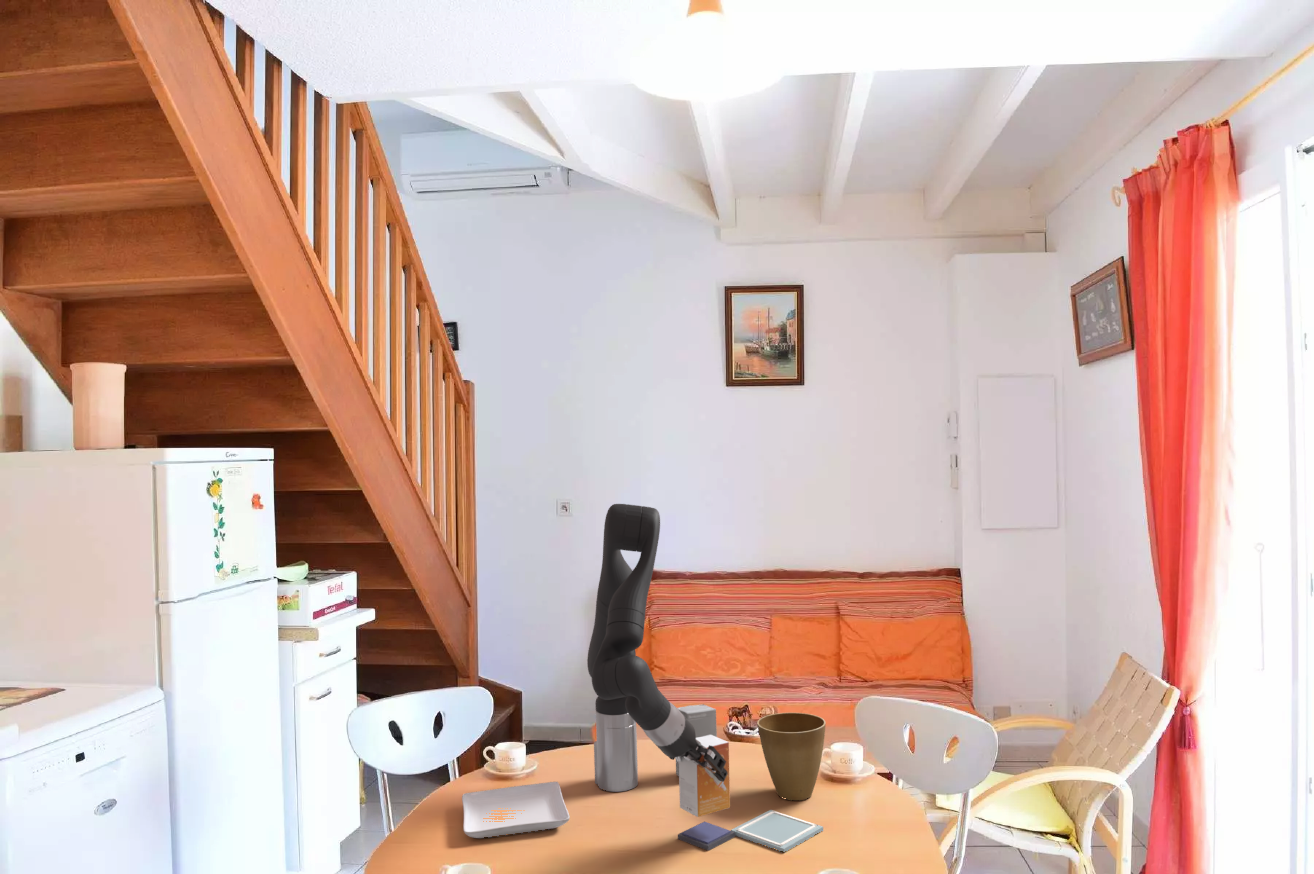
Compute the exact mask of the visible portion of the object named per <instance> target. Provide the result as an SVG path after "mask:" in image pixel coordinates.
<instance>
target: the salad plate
mask: <svg viewBox="0 0 1314 874" xmlns="http://www.w3.org/2000/svg"><path fill="white" fill-rule="evenodd" d="M461 801H462V809H463V826H462V828H463V832H464V834H465V835H466V836H468V837H470V838H473V839H485V838H484V837H488V838H493V837H492V836H497V837H500V836H499V835H505V836H507V835H506V834H513V835H516V834H515V833H521V834H524V833H523V832H528V833H532V832H531V831H535V832H539V831H538V830H542V831H546V830H545V829H548V830H550V829H551V830H552V829H556V828H559V827H562V826H564V825H566V823H568V822H569V821H570V819H571V818H570V813H569V810H568V808H567V806H566V803H565V801H564V797H563V793H562V788H561V786H560V783H559V782H558V781H549V782H539V783H533V784H522V785H514V786H508V787H500V788H492V789H487V790H480V791H472V792H465V793H463V794H462V796H461ZM498 808H501V809H498ZM502 808H503V809H502ZM505 808H506V809H505ZM507 808H508V809H507ZM510 808H511V809H510ZM491 810H516V811H513V812H512V811H509V812H508V811H507V812H502V813H516V814H508V815H502V816H508V817H503V818H514V819H505V820H498V819H497V820H494V819H493V820H492V819H483V818H495V817H489V816H501V815H494V814H493V815H491V813H500V812H497V811H496V812H494V811H491ZM517 810H522V811H517ZM523 810H525V811H523ZM486 813H487V814H486ZM489 813H490V814H489ZM521 813H522V814H521ZM509 816H510V817H509ZM511 816H514V817H511ZM497 818H498V817H497ZM515 818H516V819H515ZM483 821H484V822H483ZM486 821H487V822H486ZM489 821H491V822H489ZM492 821H493V822H492ZM494 821H503V822H494ZM504 821H505V822H504Z"/></svg>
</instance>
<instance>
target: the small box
mask: <svg viewBox="0 0 1314 874" xmlns="http://www.w3.org/2000/svg"><path fill="white" fill-rule="evenodd" d="M696 740H698V741H699V742H700V743H701V745H703V746H704V747H706V748H707V749H708V747H709V745H710V746H713V747H714V748H715V749H716V750H717V751H718V753H719V754H720V755H721V756H722V757H723V758H724V760H725V761H726V764H725V766H724V768H725V769H726V771H727V772H728V774H727V776H726V778H725V780H724V782H722V781H719V780H718V779H717V777H716V776H715V775H714V774H713V773H712V772H711V771H710V770H708V769H707V768H705V767H704V768H701V767H699V766H698V765H696V764H695V763H693V762H692V761H688V760H687V759H685V758H684V757H682V760H681V762H680V761H679V776H678V779H679V781H678V787H679V808H680V809H682V810H684V811H685V812H687V813H689V814H691V815H692V816H695V817H697V818H700V817H702V816H705V815H709V814H713V813H716V812H720V811H724V810H728V809H730V807H731V794H730V793H731V791H730V790H731V787H730V785H731V784H730V780H731V779H730V743H729V741H726V740H724V739H723V738H720V737H718V736H717V737H715V736H713V735H707V736H703V737H697V738H696ZM703 759H704V755H702V756H701V758H700V760H698V761H700V762H701V763H702V761H703ZM708 765H710V764H709V763H708ZM710 766H711V765H710Z"/></svg>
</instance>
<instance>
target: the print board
mask: <svg viewBox="0 0 1314 874" xmlns="http://www.w3.org/2000/svg"><path fill="white" fill-rule="evenodd" d="M730 831H733V832H735V837H737V838H741V837H742V838H741V839H744V840H747V841H749V840H750V841H749V842H752V841H753V842H752V843H755V844H757V843H760V844H762V845H761V846H763V845H766V846H768V847H767V848H769V847H770V848H769V849H771V848H775V849H777V850H779V851H778V852H780V851H783V852H785V851H787V852H789V851H790V850H789V849H791V848H792V849H794V848H796V847H797V846H796V845H798V846H799V845H801V844H803V843H804V841H805V840H806V841H808V840H809V838H810V837H812V838H813V837H815V836H816V835H815V834H817V833H819V832H820V833H822V832H824V826H822V825H819V824H816V823H813V822H809V821H808V820H803V819H801V818H799V817H795V816H791V815H789V814H785V813H781V812H779V811H776V810H773V809H769V810H768V811H765V812H764V813H762V814H759V815H758V816H757V815H756V816H755V817H754V818H752V819H749V820H748V821H745V822H743V823H742V824H739V825H737V826H736V827H734V828H732V829H730ZM821 831H822V832H821ZM820 833H819V834H820ZM814 835H815V836H814ZM817 835H818V834H817ZM810 839H811V838H810ZM806 841H805V842H806ZM800 843H801V844H800ZM760 844H759V845H760ZM766 846H765V847H766ZM795 846H796V847H795ZM793 847H794V848H793ZM792 849H791V850H792ZM777 850H776V851H777ZM788 850H789V851H788ZM785 853H786V852H785Z"/></svg>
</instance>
